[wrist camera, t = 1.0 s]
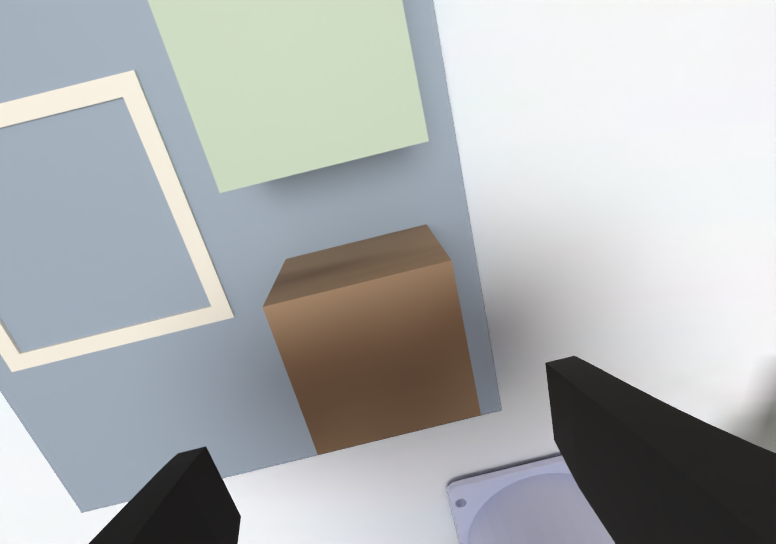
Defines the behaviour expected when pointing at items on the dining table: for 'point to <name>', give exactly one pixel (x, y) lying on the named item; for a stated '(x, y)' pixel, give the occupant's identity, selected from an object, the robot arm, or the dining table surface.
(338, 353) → the walnut block
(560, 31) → the dining table surface
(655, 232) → the dining table surface
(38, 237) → the board
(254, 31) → the sage block
